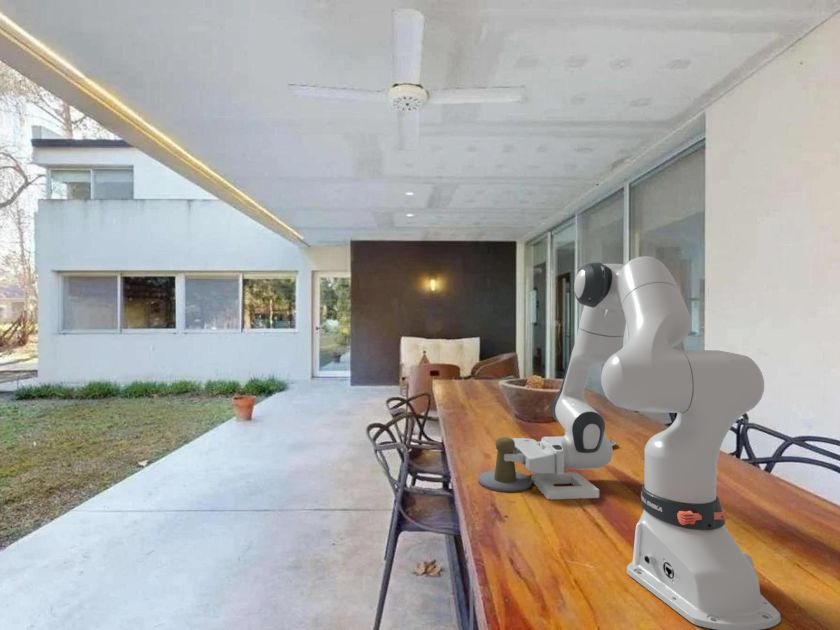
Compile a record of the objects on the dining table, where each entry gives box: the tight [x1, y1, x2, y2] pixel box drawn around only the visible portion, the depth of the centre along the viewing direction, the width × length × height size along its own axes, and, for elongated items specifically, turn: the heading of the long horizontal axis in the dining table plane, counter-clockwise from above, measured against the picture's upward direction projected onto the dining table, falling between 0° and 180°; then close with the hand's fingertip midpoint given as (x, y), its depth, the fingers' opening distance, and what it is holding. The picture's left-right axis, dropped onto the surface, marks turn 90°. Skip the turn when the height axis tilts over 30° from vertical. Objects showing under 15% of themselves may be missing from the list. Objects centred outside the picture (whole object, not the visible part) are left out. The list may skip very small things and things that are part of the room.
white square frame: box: [530, 471, 600, 500], centre depth 121 cm, size 13×13×2 cm
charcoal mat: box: [478, 469, 532, 493], centre depth 126 cm, size 14×14×1 cm
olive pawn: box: [494, 436, 517, 483], centre depth 126 cm, size 6×6×11 cm
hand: (501, 454), depth 126 cm, fingers closed on olive pawn, 3 cm apart
